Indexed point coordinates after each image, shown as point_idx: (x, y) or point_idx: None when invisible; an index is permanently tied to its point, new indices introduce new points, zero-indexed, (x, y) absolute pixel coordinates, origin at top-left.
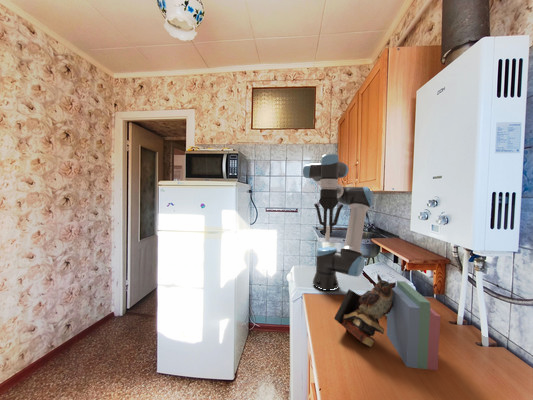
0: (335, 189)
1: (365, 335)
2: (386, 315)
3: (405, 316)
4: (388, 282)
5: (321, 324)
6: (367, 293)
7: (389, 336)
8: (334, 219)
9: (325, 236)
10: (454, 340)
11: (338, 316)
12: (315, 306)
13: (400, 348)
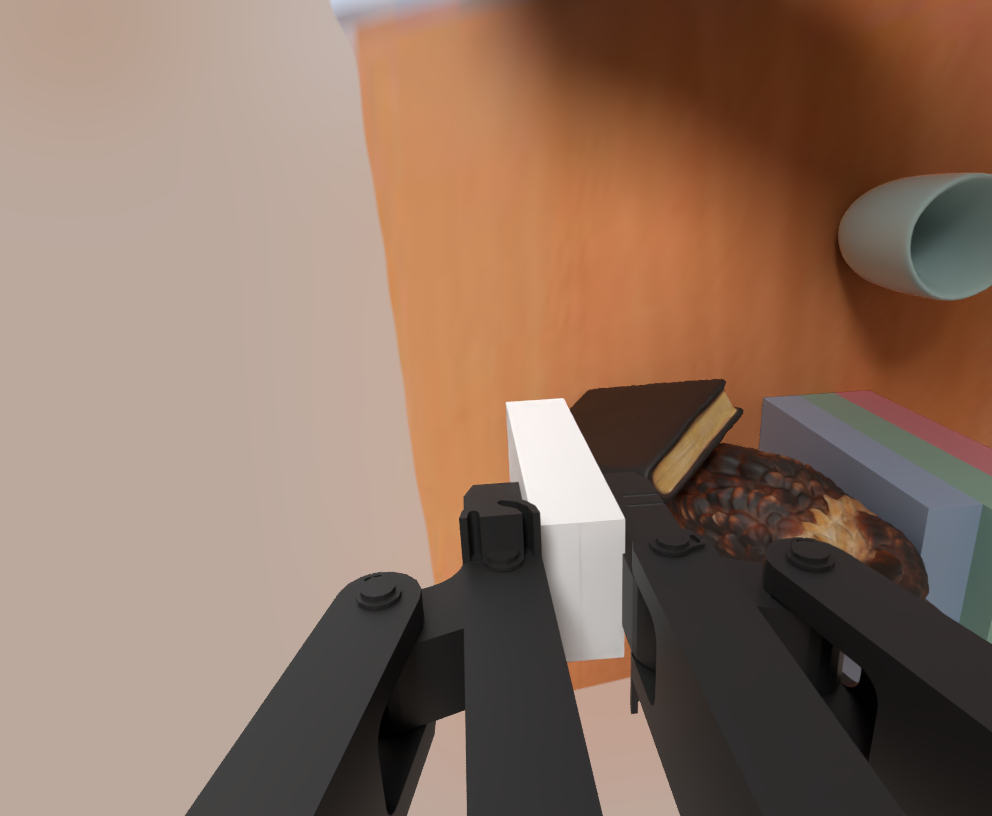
0: None
1: None
2: (840, 251)
3: (851, 664)
4: (924, 589)
5: (460, 396)
6: (744, 552)
7: (766, 433)
8: (872, 671)
9: (510, 432)
10: None
11: None
12: (426, 215)
13: None
